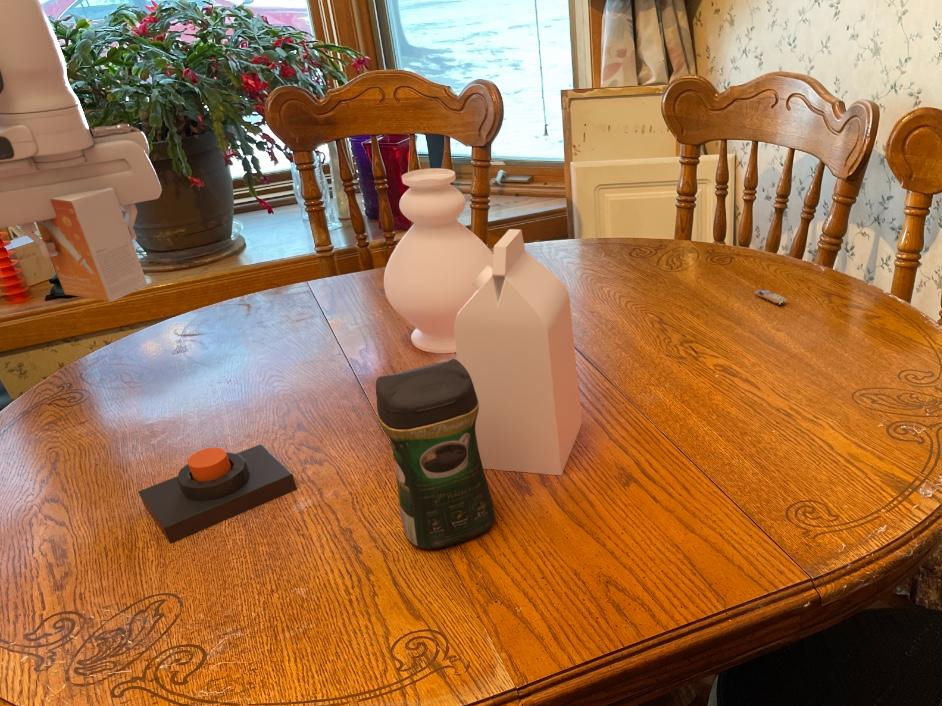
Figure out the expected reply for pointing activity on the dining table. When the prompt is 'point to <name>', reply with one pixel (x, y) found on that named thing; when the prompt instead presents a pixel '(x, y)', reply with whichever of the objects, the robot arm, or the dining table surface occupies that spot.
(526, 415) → the milk
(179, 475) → the black base plate
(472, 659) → the dining table surface
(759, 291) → the granola bar
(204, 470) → the button
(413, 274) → the decorative vase
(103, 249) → the small box
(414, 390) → the coffee jar
